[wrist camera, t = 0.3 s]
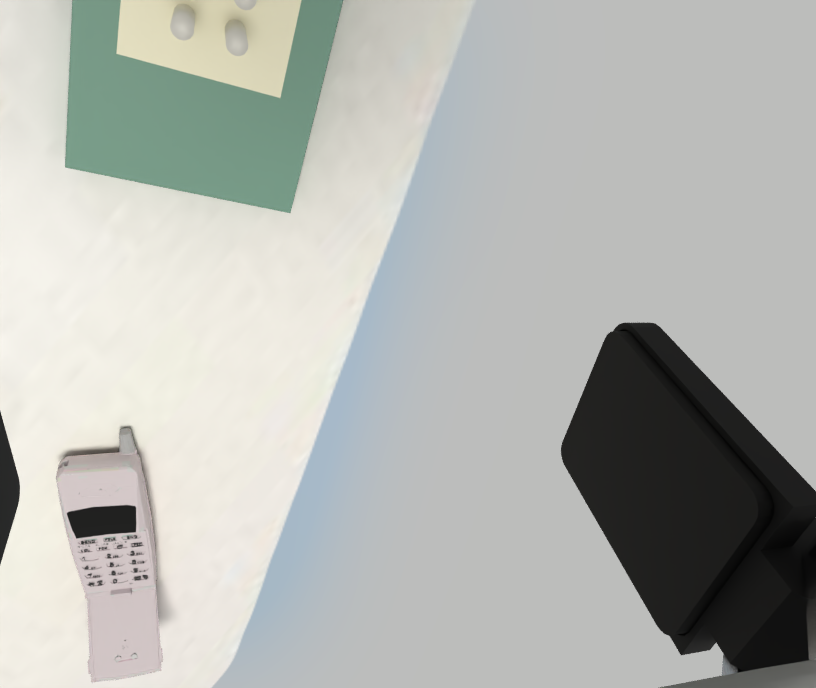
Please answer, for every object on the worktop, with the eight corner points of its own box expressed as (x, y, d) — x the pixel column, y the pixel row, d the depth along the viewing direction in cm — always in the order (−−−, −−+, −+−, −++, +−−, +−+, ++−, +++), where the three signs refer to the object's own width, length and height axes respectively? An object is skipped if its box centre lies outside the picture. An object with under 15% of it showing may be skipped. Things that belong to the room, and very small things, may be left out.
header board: (92, -340, 24) (74, -369, 21) (387, -200, 29) (409, -206, 25) (69, 158, 35) (54, 190, 31) (288, 204, 39) (295, 236, 36)
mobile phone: (90, 686, 55) (33, 494, 41) (98, 622, 60) (50, 428, 45) (164, 673, 57) (136, 485, 42) (167, 612, 61) (142, 422, 47)
